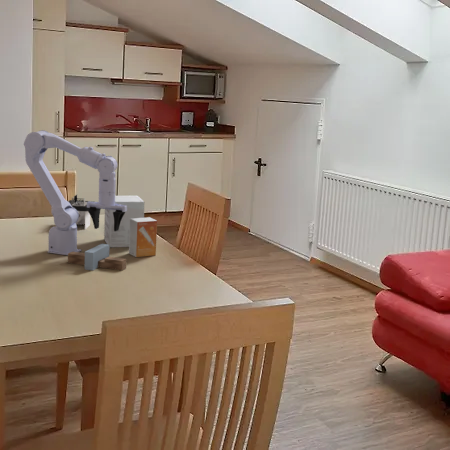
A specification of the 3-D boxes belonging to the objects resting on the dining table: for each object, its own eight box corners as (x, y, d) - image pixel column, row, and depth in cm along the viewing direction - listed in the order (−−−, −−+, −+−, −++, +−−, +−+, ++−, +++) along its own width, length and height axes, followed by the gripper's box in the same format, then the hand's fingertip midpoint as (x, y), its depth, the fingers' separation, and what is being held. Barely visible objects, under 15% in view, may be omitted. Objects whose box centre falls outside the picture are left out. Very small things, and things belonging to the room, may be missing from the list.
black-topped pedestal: (57, 218, 284) (57, 188, 281) (116, 222, 284) (117, 192, 281) (37, 233, 257) (37, 200, 254) (103, 237, 257) (103, 204, 254)
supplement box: (137, 238, 256) (138, 195, 253) (143, 246, 244) (145, 201, 241) (103, 239, 252) (104, 195, 248) (108, 247, 240) (109, 201, 236)
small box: (136, 257, 229) (137, 221, 226) (128, 253, 234) (129, 218, 231) (156, 255, 233) (157, 220, 231) (148, 251, 238) (149, 216, 236)
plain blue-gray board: (84, 269, 212) (84, 251, 211) (101, 260, 223) (101, 243, 222) (92, 270, 211) (93, 252, 210) (109, 261, 222) (109, 244, 221)
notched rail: (67, 262, 218) (67, 253, 217) (72, 260, 221) (72, 251, 220) (122, 270, 213) (122, 261, 212) (126, 268, 216) (126, 258, 215)
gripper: (82, 191, 223) (82, 229, 226) (121, 195, 219) (120, 234, 222) (92, 188, 230) (91, 225, 233) (129, 192, 226) (128, 230, 229)
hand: (106, 229), depth 228 cm, fingers open, 7 cm apart
